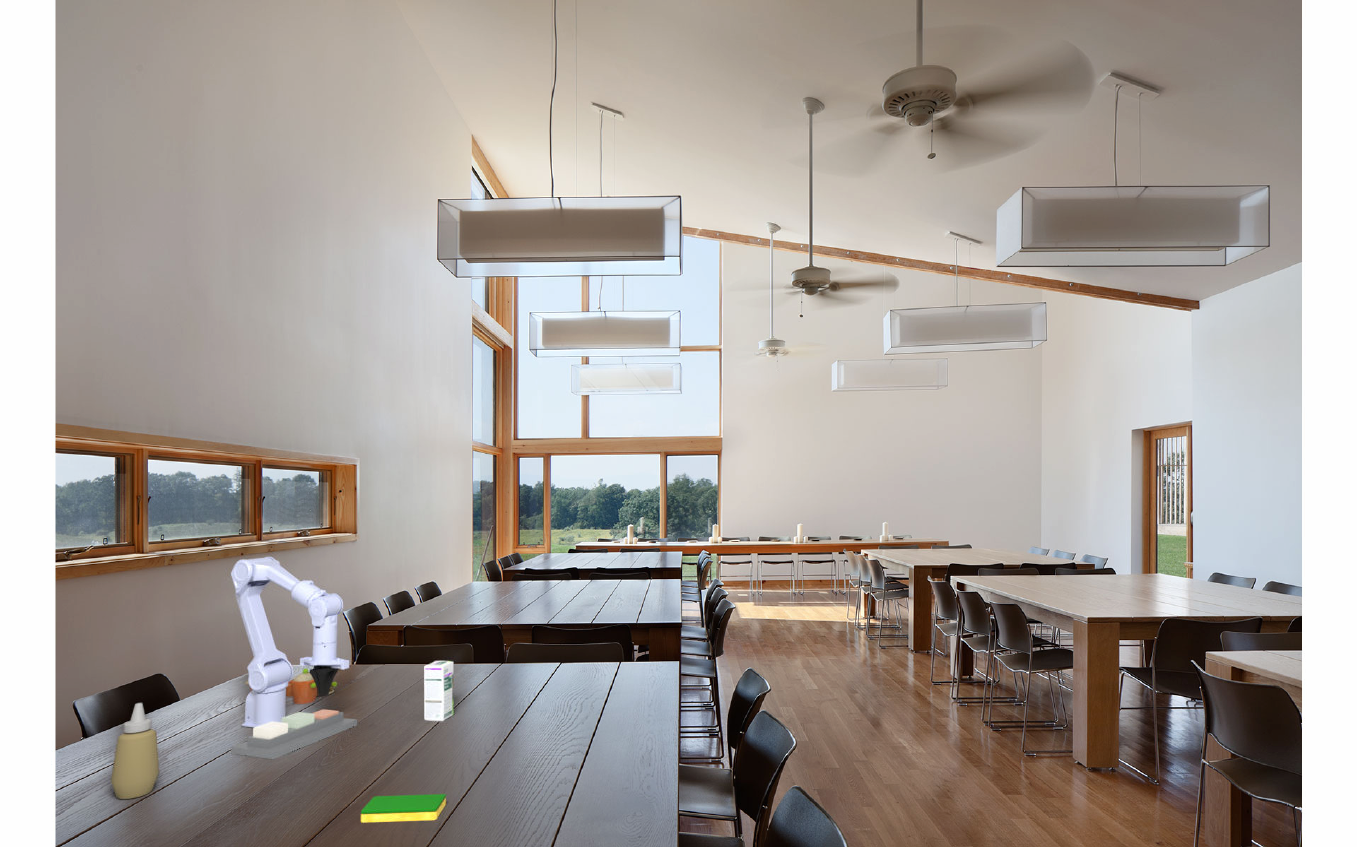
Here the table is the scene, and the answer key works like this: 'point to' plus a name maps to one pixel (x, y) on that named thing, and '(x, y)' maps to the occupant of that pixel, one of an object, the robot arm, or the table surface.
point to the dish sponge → (403, 808)
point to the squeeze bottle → (135, 757)
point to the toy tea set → (303, 688)
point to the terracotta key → (324, 714)
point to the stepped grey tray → (294, 738)
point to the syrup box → (438, 691)
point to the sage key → (298, 720)
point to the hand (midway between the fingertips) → (323, 695)
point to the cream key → (270, 730)
